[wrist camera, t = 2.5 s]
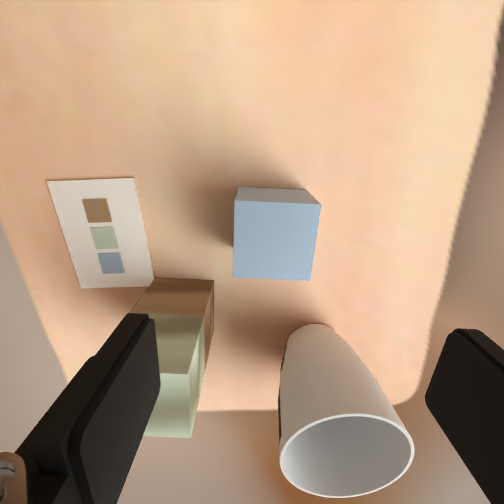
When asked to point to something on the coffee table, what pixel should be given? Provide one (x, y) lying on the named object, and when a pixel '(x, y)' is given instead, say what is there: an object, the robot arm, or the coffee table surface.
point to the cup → (336, 419)
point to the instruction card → (103, 231)
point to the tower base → (181, 301)
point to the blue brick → (274, 233)
